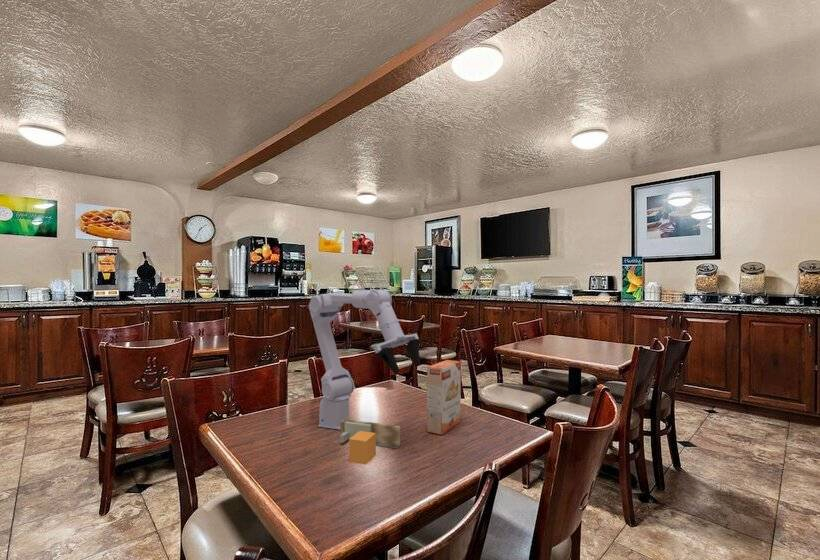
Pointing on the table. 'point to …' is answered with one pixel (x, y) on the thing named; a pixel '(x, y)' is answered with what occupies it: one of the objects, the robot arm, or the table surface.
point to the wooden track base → (380, 433)
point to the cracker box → (443, 396)
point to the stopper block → (362, 447)
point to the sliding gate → (353, 429)
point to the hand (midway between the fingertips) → (407, 369)
